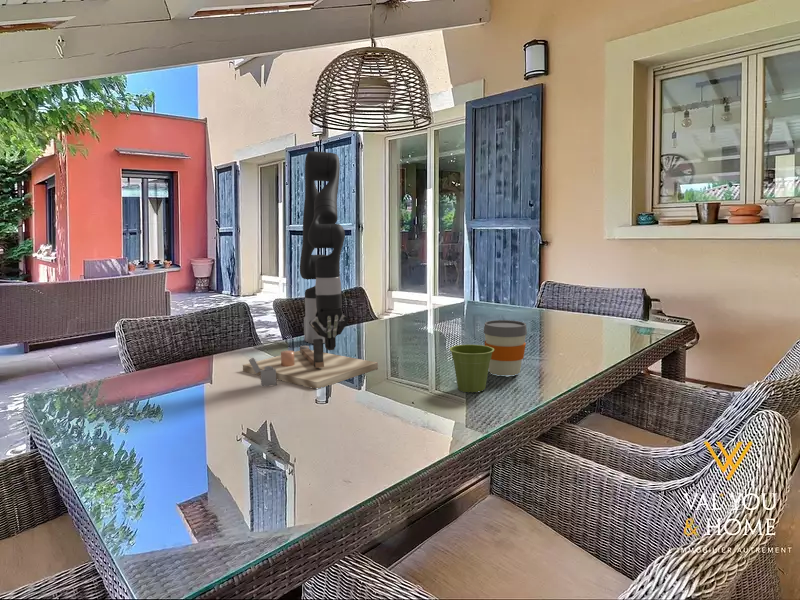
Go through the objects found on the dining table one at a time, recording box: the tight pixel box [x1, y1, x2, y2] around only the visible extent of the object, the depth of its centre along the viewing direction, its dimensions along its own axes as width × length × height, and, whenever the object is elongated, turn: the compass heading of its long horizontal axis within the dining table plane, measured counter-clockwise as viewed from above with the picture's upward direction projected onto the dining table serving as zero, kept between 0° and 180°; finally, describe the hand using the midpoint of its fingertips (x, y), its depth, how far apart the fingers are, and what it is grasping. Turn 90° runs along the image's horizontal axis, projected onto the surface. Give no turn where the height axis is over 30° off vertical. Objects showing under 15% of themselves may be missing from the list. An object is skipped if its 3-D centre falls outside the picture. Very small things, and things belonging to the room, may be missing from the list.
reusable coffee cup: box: [483, 319, 528, 375], centre depth 159 cm, size 13×13×15 cm
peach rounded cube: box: [280, 350, 295, 366], centre depth 163 cm, size 4×4×4 cm
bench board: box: [242, 349, 379, 389], centre depth 165 cm, size 32×26×2 cm
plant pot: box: [448, 344, 494, 393], centre depth 143 cm, size 12×12×11 cm
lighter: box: [248, 357, 278, 387], centre depth 149 cm, size 7×2×8 cm, turn 106°
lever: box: [299, 339, 324, 368], centre depth 167 cm, size 22×3×8 cm, turn 23°
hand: (330, 349), depth 160 cm, fingers closed
